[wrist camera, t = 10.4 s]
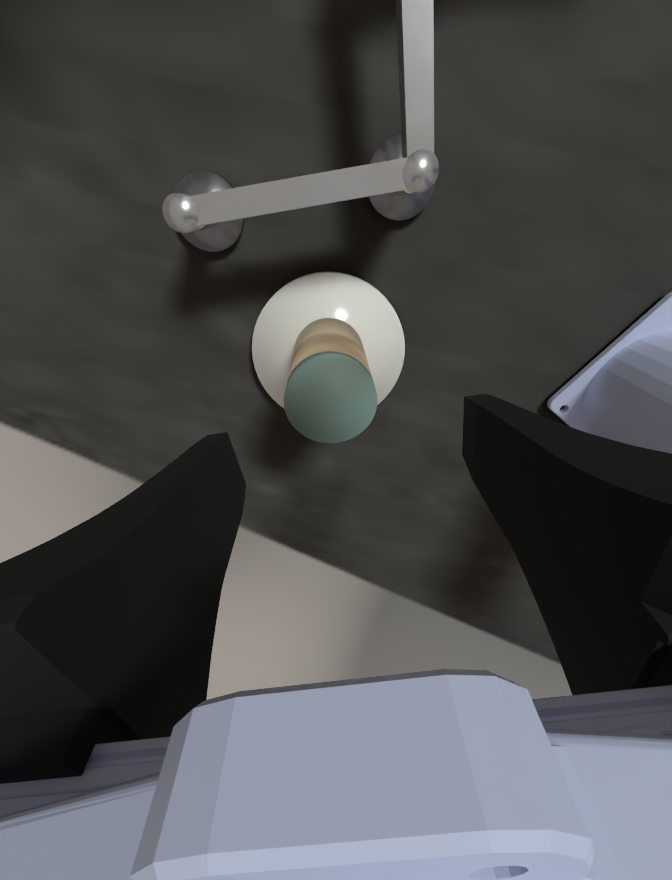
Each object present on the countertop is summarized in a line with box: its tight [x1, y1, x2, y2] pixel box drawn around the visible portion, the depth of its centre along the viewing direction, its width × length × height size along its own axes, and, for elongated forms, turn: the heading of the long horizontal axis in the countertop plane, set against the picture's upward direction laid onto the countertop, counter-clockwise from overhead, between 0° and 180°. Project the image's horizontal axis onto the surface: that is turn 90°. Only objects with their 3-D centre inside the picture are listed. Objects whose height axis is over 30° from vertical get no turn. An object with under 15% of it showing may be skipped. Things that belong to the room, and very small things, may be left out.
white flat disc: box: [252, 271, 405, 409], centre depth 20 cm, size 8×8×1 cm
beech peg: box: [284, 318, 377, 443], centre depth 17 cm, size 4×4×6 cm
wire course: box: [163, 0, 439, 252], centre depth 12 cm, size 9×21×4 cm, turn 143°
